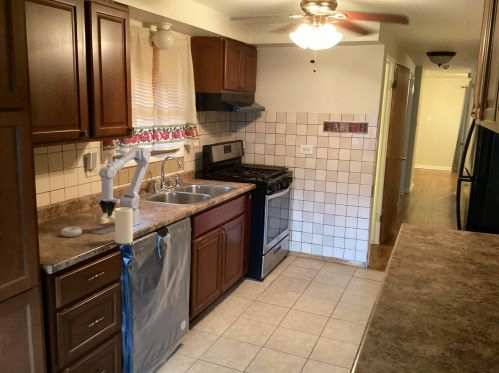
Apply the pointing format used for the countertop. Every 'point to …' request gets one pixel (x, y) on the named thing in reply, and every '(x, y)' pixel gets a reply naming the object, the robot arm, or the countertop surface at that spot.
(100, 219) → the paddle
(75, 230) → the donut
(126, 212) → the cup
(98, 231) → the mat
